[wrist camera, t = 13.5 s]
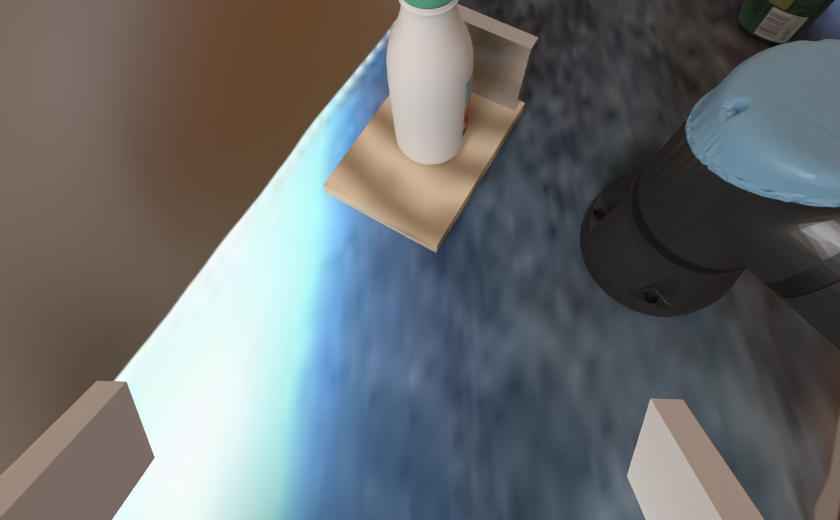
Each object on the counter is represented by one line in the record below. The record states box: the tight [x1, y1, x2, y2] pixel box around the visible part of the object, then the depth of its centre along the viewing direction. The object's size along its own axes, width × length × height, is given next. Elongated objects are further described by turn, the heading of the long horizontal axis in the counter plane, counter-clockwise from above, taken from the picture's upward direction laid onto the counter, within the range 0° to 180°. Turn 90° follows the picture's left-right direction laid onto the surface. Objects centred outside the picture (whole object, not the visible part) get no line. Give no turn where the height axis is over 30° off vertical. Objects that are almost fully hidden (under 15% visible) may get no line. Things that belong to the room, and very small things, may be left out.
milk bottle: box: [387, 0, 474, 165], centre depth 40 cm, size 8×8×20 cm
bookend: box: [458, 4, 538, 111], centre depth 47 cm, size 2×13×9 cm, turn 60°
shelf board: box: [323, 92, 525, 253], centre depth 50 cm, size 20×14×2 cm
